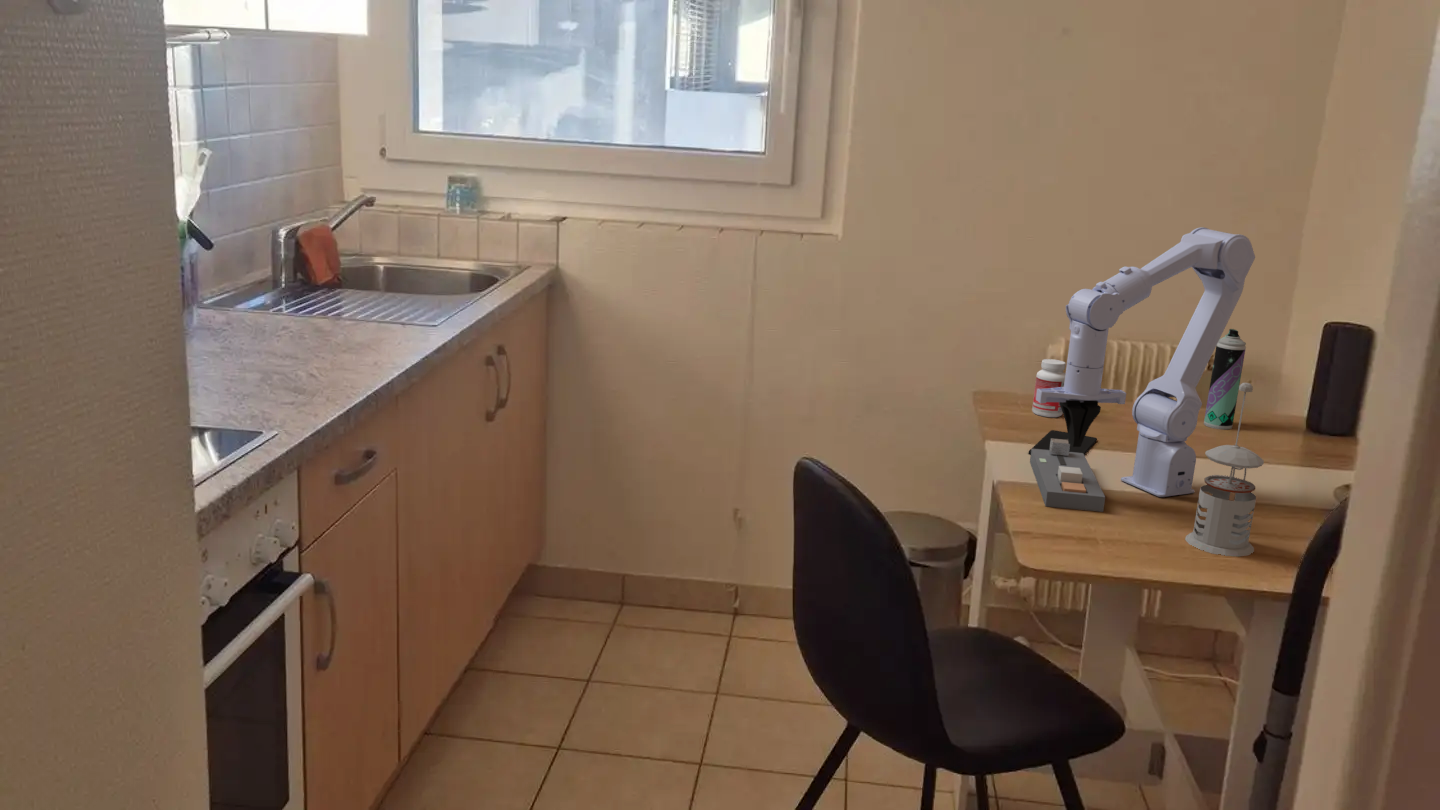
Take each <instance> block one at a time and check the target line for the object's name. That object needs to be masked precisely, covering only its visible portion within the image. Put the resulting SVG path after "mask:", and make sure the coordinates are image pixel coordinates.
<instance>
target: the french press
mask: <svg viewBox="0 0 1440 810" xmlns="http://www.w3.org/2000/svg"><path fill="white" fill-rule="evenodd" d="M1253 389H1254V387H1253V385H1252V384H1251V383H1250V382H1242V383H1240V385H1239V391H1240V392H1243V397H1242V403H1241V410H1240V417H1239V422H1238V426H1237V427H1238V428H1237V432H1236V433H1237V435H1236V441H1235V444H1234V445H1231V444H1224V445H1219V446H1216V447H1213V448H1211V449H1208V450H1206V451H1205V454H1204V455H1206V458H1208V460H1210V461H1211V462H1214V463H1217V464H1219V465H1222V466H1227V467H1231V468H1230V475H1226V474H1225V475H1222V474H1211V475H1209V476H1206V477H1204V483H1205V485H1202V486H1200V489H1199V494H1198V500H1197V504H1198V505H1197V507H1196V511H1195V518H1194V524H1193V525H1194V526H1193V530H1192V532H1189V533H1188V534H1186V535H1185V542H1186V543H1188V545H1190V546H1191V545H1192V547H1193V546H1194V548H1195V547H1196V549H1197V548H1198V550H1199V549H1200V551H1203V550H1204V551H1203V552H1206V553H1210V554H1213V555H1218V554H1221V555H1220V556H1224V555H1225V556H1226V557H1238V558H1239V557H1243V556H1244V557H1245V556H1250V555H1251V553H1252V554H1253V552H1255V547H1254V546H1253V545H1252V544H1251V543H1250V542H1249V539H1250V536H1251V529H1252V523H1253V518H1254V513H1255V507H1256V502H1257V501H1256V500H1257V496H1256V495H1255V493H1253V492H1254V491H1256V486H1255V484H1253V482H1251V481H1250V480H1246V478H1247V469H1257V468H1260V467H1262V466H1263V465H1264V462H1265V461H1264V459H1263V458H1262V457H1261V456H1259V455H1258V454H1257V453H1255V452H1253V450H1250V449H1248V448H1246V447H1244V446H1239V445H1238V441H1239V435H1240V430H1241V429H1240V428H1241V423H1242V417H1243V413H1244V412H1243V411H1244V407H1245V401H1246V393H1252V392H1253V391H1254V390H1253ZM1236 470H1238V471H1242V470H1244V473H1243V479H1242V478H1240V477H1235V475H1236V474H1235V472H1236ZM1208 493H1209V494H1208ZM1231 493H1232V494H1234V500H1230V496H1231ZM1210 494H1211V495H1210ZM1201 509H1206V511H1202V510H1201ZM1200 517H1205V519H1201V518H1200ZM1225 556H1224V557H1225Z"/></svg>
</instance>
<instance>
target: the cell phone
mask: <svg viewBox="0 0 1440 810" xmlns="http://www.w3.org/2000/svg"><path fill="white" fill-rule="evenodd" d="M1051 438H1052V439H1063V440H1068V432H1067V431H1060V430H1055V429H1051V430H1050V431H1049V432H1048V433H1046V434H1045V435H1044V436H1043V437H1042V438H1041V439H1040V440H1039V441H1038V442H1037V443H1036V444H1035V445H1034V446H1032V448H1031V449H1042V450H1050V442H1051ZM1096 441H1097V442H1098V438H1097V437H1094V436H1088V435H1085V437H1084V440H1083V442H1082V445H1081V447H1073V446H1071V445H1070V449H1069V452H1076V453H1083V454H1084V456H1085V455H1086V454H1087V453H1088V452H1089V451H1090V449H1091V448H1092V447H1093V446H1094V445H1095V444H1096V443H1097V442H1096ZM1031 449H1029V451H1028V453H1027V454H1028V455H1029V456H1031Z"/></svg>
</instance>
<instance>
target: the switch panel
mask: <svg viewBox="0 0 1440 810" xmlns="http://www.w3.org/2000/svg"><path fill="white" fill-rule="evenodd" d="M1029 463H1030V467H1031V470H1032V472H1033V475H1034V477H1035V481H1036V483H1037V487H1038V489H1039V492H1040V494H1041V497H1042V502H1043V503H1044V507H1047V508H1057V509H1059V508H1060V509H1070V510H1078V511H1079V510H1082V511H1091V512H1101V513H1103V512H1104V508H1105V503H1106V496H1105V493H1104V491H1103V490H1102V488H1101V486H1100V483H1099V482H1098V479H1097V478H1096V476H1095V474H1094V472H1093V470H1092V468H1091V466H1090V463H1089V462H1088V460H1087V458H1086V456H1085V455H1084V454H1083V453H1076V452H1069V456H1065V455H1054V454H1051V453H1050V451H1049V450H1042V449H1032V448H1031V455H1030V459H1029ZM1059 466H1064V467H1074V468H1080V470H1081V472H1082V474H1083V476H1082V483H1079V484H1083V485H1084V487H1085V489H1086V493H1078V492H1067V491H1062V488H1061V484H1062V482H1060V481H1058V478H1057V476H1058V469H1059ZM1068 483H1071V482H1068Z"/></svg>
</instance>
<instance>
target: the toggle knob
mask: <svg viewBox="0 0 1440 810" xmlns="http://www.w3.org/2000/svg"><path fill="white" fill-rule="evenodd" d="M1069 449H1070V444H1069V443H1068V440H1063V439H1052V438H1051V442H1050V450H1049V451H1050V453H1051V454H1054V455H1065V456H1069Z"/></svg>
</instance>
